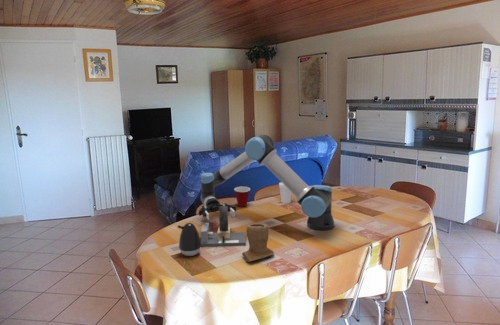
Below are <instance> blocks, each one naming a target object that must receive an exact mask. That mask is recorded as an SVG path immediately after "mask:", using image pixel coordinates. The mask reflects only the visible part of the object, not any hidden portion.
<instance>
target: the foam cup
mask: <svg viewBox="0 0 500 325" xmlns="http://www.w3.org/2000/svg"><path fill="white" fill-rule="evenodd" d="M278 187H279V194H280V201H281V203H282V204H291V203H292V195H293V193H292V192H291V191H290V190H289V189H288V188H287V187H286V186H285V185H284V184H283V183H282V182H281V181H280V182H279V183H278Z"/></svg>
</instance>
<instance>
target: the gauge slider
mask: <svg viewBox="0 0 500 325" xmlns="http://www.w3.org/2000/svg"><path fill="white" fill-rule="evenodd" d="M218 220H219V221H218V222H219V224H218V225H219V227H217V233H218V240H223V243H224V241H225V240H230V233H231V227H230V226H229V212H228V207H227V206H220V207H219V211H218Z"/></svg>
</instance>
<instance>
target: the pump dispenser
mask: <svg viewBox="0 0 500 325" xmlns="http://www.w3.org/2000/svg"><path fill="white" fill-rule="evenodd" d="M177 228H178V229H180V230H181V232H180V235H179V241H178V249H179V250H180V253H182V255H184V256H185V257H194V256H195V255H197V254H199V252H200V250H201V235H200V234H199V232H198V229H197V227H196V225H195V224H194V223H191V222H187V223H185V224H184V225H180V224H179V225H177Z"/></svg>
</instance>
